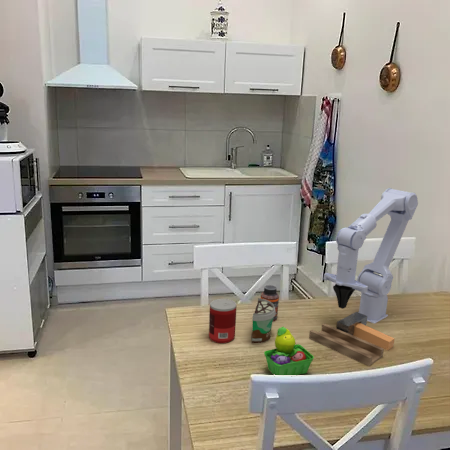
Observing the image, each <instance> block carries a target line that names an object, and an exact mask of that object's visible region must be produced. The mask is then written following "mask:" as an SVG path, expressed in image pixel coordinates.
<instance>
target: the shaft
mask: <svg viewBox="0 0 450 450" xmlns="http://www.w3.org/2000/svg"><path fill="white" fill-rule="evenodd" d="M353 336H355V337H357V338H360V339H362V340H365V341H367V342H369V343H372V344H374V345H376V346H379V347H381V348H383V349H384V350H386V351H389V350H391V349H392V348H393V347H394V345H395V344H394V343H395V340H396V339H395V338H394V337H392V336H390V335H387V334H385V333H383V332H381V331H379V330H377V329H375V328H372V327H370V326H368V325H367V324H366V325H363V324H361V323H357V324H355V326H354V334H353Z"/></svg>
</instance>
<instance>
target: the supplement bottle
mask: <svg viewBox="0 0 450 450" xmlns="http://www.w3.org/2000/svg"><path fill="white" fill-rule="evenodd" d="M263 290H264V291H262V292H261V294H260V298H261V299H265V300H268V301H270V302H271V303H273V305H274V307H275V311H276V315H275V316H274V317H273V321H272V323H273V322H276V321H277V319H278V312H279V311H278V310H279V303H280V302H279V301H280V299H279V298H280V295H279V293H277V287H276V286H274V285H272V284H271V285H270V284H269V285H265V286H264V288H263Z"/></svg>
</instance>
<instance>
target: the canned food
mask: <svg viewBox="0 0 450 450" xmlns="http://www.w3.org/2000/svg"><path fill="white" fill-rule="evenodd" d="M208 315H209V316H208V317H209V321H208V323H209V324H208V337H209V339H210V340H211V341H212V342H214V343H218V344H226V343H230V342H233V341H234V339H235V337H236V324H237V321H236V320H237V303H236V301H234V300H233V299H228V298H218V299H217V298H216V299H214V300H212V301H210V303H209V314H208Z"/></svg>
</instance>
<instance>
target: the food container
mask: <svg viewBox="0 0 450 450" xmlns="http://www.w3.org/2000/svg"><path fill="white" fill-rule="evenodd" d="M275 315H276V311H275V307H274V305H273V303H271V302H270V301H268V300H265V299H261V297H260V298H259V297H258V298H257V304H256V307H255V310H254V312H253V313H252V320H251V321H252V325H251V326H252V327H251V328H252V329H251V344H263V343H266V342H269V340H270V339H271V333H272V327H273V322H272V321H273V317H274V316H275Z"/></svg>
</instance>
